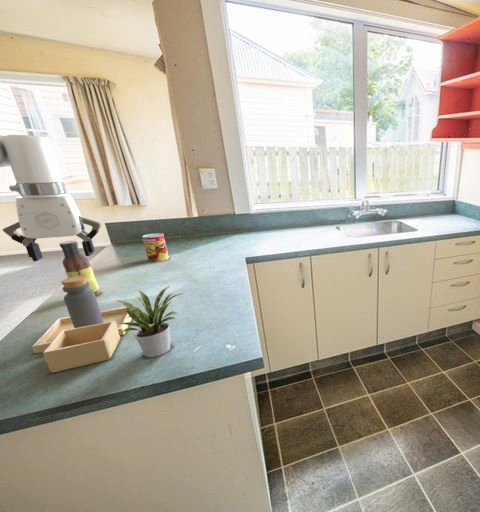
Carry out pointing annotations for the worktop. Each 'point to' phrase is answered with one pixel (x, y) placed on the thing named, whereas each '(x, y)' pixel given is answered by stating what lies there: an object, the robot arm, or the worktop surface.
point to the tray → (67, 324)
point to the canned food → (155, 247)
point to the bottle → (81, 302)
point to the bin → (82, 346)
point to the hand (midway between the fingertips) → (64, 257)
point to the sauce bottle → (78, 265)
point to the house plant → (151, 324)
